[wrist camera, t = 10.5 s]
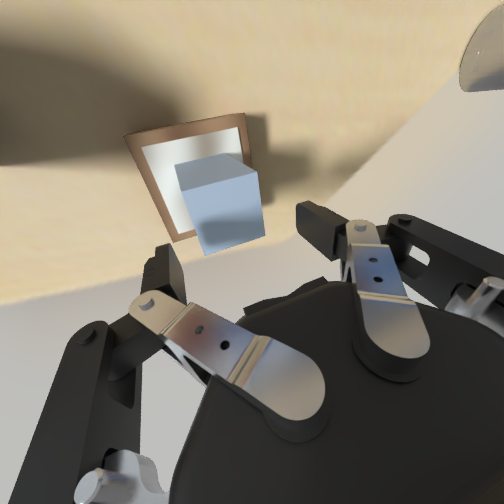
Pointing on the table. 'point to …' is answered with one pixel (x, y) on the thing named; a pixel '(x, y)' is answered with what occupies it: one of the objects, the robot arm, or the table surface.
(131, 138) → the base
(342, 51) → the table surface
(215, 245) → the block
